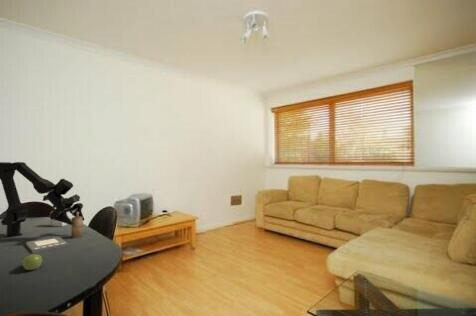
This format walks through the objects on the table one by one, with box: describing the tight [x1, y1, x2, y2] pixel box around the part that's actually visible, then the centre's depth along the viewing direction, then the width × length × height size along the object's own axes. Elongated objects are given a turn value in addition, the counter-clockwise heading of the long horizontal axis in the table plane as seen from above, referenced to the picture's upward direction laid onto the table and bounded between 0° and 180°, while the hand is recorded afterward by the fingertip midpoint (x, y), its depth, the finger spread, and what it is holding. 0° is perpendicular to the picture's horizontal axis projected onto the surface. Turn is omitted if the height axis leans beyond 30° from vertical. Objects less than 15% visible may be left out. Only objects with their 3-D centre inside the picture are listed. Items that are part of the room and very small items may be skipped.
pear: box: [22, 253, 43, 271], centre depth 95 cm, size 6×5×10 cm
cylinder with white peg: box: [70, 212, 84, 239], centre depth 134 cm, size 5×5×13 cm
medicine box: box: [49, 210, 68, 227], centre depth 157 cm, size 8×4×9 cm, turn 84°
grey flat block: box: [25, 236, 69, 254], centre depth 119 cm, size 16×13×1 cm
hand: (78, 222), depth 134 cm, fingers open, 9 cm apart
